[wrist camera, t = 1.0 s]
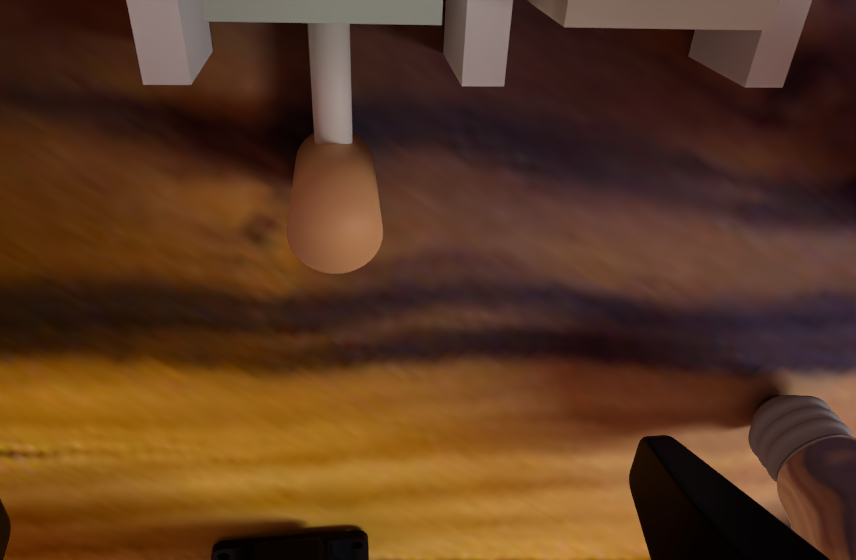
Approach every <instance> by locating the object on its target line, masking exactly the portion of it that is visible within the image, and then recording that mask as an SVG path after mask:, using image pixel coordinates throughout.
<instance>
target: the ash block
mask: <svg viewBox="0 0 856 560" xmlns="http://www.w3.org/2000/svg"><path fill="white" fill-rule="evenodd" d="M527 1H528V2H529V3H531V4H532V5H534V6H535V7H536V8H538V9H539V10H541V11H542V12H543V13H545V14H546V15H548V16H549V17H550V18H552V19H553V20H555V21H556V22H557V23H559V24H560V25H562V26H563V27H573V28H637V29H701V30H765V31H770V29H771V26H772V23H773V20H774V16H775V13H776V10H777V7H778V4H779V0H527Z"/></svg>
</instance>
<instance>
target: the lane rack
mask: <svg viewBox="0 0 856 560" xmlns="http://www.w3.org/2000/svg"><path fill="white" fill-rule="evenodd" d="M126 1H127V6H128V11H129V16H130V21H131V26H132V31H133V36H134V41H135V46H136V51H137V56H138V61H139V66H140V71H141V76H142V81H143V85H191V84H192V83H193V81H194V80H195V78H196V77H197V75H198V73H199V72H200V70H201V69H202V67H203V66H204V64H205V63H206V61H207V59H208V58H209V56H210V55H211V53H212V52H213V50H212V43H211V35H210V28H209V21H205V16H204V9H203V2H202V0H126ZM811 2H812V0H779V4H778V7H777V10H776V13H775V16H774V20H773V23H772V26H771V29H770V31H765V30H701V29H695V31H694V35H693V39H692V43H691V47H690V51H689V55H688V57H690V58H692V59H694V60H695V61H697V62H699V63H701V64H703V65H704V66H706V67H708V68H710V69H712V70H714V71H715V72H717V73H719V74H721V75H723V76H725V77H726V78H728V79H730V80H732V81H734V82H735V83H737V84H739V85H741V86H743V87H745V88H783V85H784V82H785V79H786V76H787V73H788V70H789V67H790V64H791V61H792V58H793V55H794V52H795V50H796V47H797V44H798V41H799V38H800V35H801V32H802V29H803V26H804V23H805V20H806V17H807V14H808V11H809V8H810V5H811ZM512 5H513V0H446V8H445V28H444V47H443V54H444V56H445V58H446V60H447V61H448V63H449V65H450V67H451V68H452V70H453V72H454V74H455V75H456V77H457V79H458V81H459V83H460V84H461V86H504V83H505V73H506V63H507V54H508V44H509V34H510V25H511V15H512Z"/></svg>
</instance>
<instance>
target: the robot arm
mask: <svg viewBox="0 0 856 560" xmlns="http://www.w3.org/2000/svg"><path fill="white" fill-rule="evenodd" d="M629 484H630V490H631V493H632V497H633V500H634V503H635V507H636V510H637V514H638V517H639V520H640V524H641V527H642V531H643V534H644V537H645V541H646V544H647V548H648V551H649V554H650V558H651V560H830V559H829V558H828V557H827V556H825V555H824V554H823V553H821V552H820V551H819V550H818V549H816V548H815V547H814V546H812V545H811V544H810V543H808V542H807V541H806V540H805V539H803V538H802V537H801V536H799V535H798V534H797V533H796V532H794V531H793V530H792V529H790V528H789V527H788V526H787V525H785V524H784V523H783V522H781V521H780V520H779V519H777V518H776V517H775V516H774V515H772V514H771V513H770V512H768V511H767V510H766V509H765V508H763V507H762V506H761V505H759V504H758V503H757V502H756V501H754V500H753V499H752V498H750V497H749V496H748V495H746V494H745V493H744V492H743V491H741V490H740V489H739V488H737V487H736V486H735V485H734V484H732V483H731V482H730V481H728V480H727V479H726V478H725V477H723V476H722V475H721V474H719V473H718V472H717V471H716V470H714V469H713V468H712V467H710V466H709V465H708V464H706V463H705V462H704V461H703V460H701V459H700V458H699V457H697V456H696V455H695V454H694V453H692V452H691V451H690V450H688V449H687V448H686V447H685V446H683V445H682V444H681V443H679V442H678V441H677V440H675V439H674V438H672V437H670V436H667V435H660V436H646V437H643V438H642V439H641V440H640V442H639V444H638V448H637V451H636V454H635V457H634V461H633V464H632V467H631V470H630V474H629ZM10 530H11V524H10V519H9V516H8V514H7V512H6V510H5V508H4V506H3V504H2V502H1V499H0V560H3V558H4V555H5V551H6V548H7V544H8V541H9V537H10ZM211 559H212V560H369V557H368V535H367V534H366V533H365V532H364V531H361V530H353V531H340V532H328V533H316V534H303V535H291V536H279V537H266V538H254V539H242V540H229V541H221V542H218V543H216V544H215V545H214V546H213V549H212V555H211Z"/></svg>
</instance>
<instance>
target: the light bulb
mask: <svg viewBox="0 0 856 560" xmlns="http://www.w3.org/2000/svg"><path fill="white" fill-rule="evenodd" d="M748 439H749V445H750V447H751V449H752V451H753V452H754V454H755V455H756V456H757V457H758V458H759V460H760V462H761V464H762V465H763V466H764V467H765V468H766V469H767V471H768V473H769V475H770V476H771V477H772V479H773V480H774V481H776V482H777V492H778V496H779V499H780V501H781V504H782V506H783V508H784V510H785V512H786V514H787V516H788V518H789V521H790V523H791V527H792V530H793V531H794V532H796V533H797V534H798V535H799V536H801V537H802V538H803V539H805V540H806V541H807V542H808V543H810V544H811V545H812V546H814V547H815V548H816V549H818V550H819V551H820V552H821V553H823V554H824V555H825V556H827V557H828V558H829V559H830V560H856V438H854V437H853V435H852V432H851V431H850V429H849V428H848V427H847V426H846V425H845V424H844V423H842V422H841V420H840V418H839V417H838V416H837V415H836V414H835V413H834V412H832V411H831V409H830V408H829V406H828V405H827V404H826V403H825V402H824V401H822V400H821V399H819V398H816V397H813V396H797V395H783V396H780V395H775V396H771V397H768V398H766V399H765V400H763V401H762V402H761V403H760V404H759V406H758V408H757V411H756V413H755V415H754V417H753V420H752V423H751V427H750V431H749V437H748Z"/></svg>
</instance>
